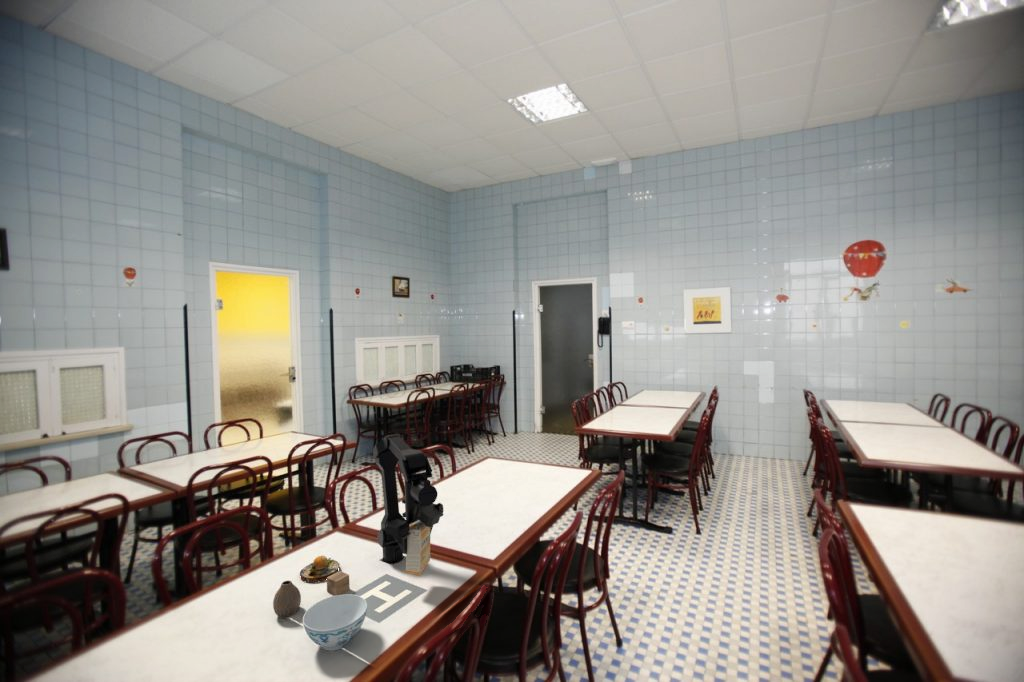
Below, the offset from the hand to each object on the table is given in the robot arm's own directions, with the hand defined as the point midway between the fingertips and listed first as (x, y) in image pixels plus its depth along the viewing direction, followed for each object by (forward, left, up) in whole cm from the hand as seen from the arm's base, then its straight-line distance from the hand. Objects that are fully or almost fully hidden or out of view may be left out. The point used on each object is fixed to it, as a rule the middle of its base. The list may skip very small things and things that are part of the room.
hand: (416, 547), depth 138 cm
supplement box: (0, 0, -6) cm, 6 cm away
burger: (-34, -10, -13) cm, 38 cm away
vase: (-22, -28, -13) cm, 38 cm away
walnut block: (-19, -13, -13) cm, 27 cm away
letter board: (-5, -9, -13) cm, 16 cm away
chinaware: (0, -28, -13) cm, 30 cm away
